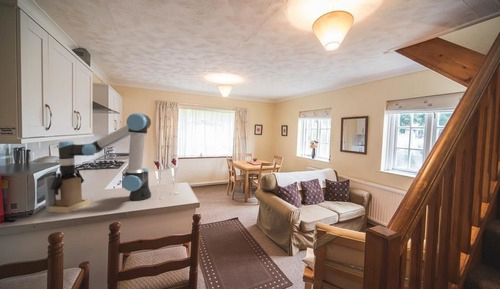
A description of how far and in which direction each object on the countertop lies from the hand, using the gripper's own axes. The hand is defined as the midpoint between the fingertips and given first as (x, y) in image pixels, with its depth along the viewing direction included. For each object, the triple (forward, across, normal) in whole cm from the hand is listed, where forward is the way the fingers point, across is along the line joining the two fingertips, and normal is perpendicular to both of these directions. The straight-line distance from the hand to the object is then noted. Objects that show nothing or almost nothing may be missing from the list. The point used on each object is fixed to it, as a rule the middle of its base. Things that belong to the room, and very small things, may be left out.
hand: (69, 195), depth 135 cm
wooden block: (+8, 0, 0) cm, 8 cm away
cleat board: (+8, 0, -1) cm, 8 cm away
